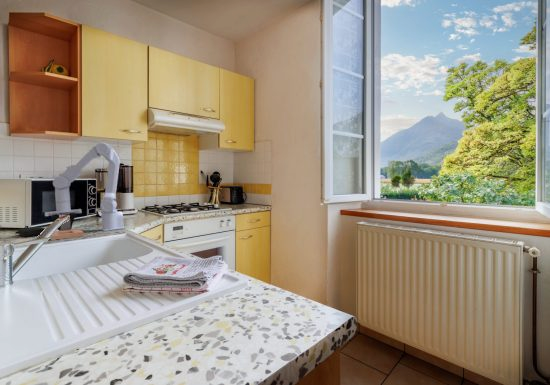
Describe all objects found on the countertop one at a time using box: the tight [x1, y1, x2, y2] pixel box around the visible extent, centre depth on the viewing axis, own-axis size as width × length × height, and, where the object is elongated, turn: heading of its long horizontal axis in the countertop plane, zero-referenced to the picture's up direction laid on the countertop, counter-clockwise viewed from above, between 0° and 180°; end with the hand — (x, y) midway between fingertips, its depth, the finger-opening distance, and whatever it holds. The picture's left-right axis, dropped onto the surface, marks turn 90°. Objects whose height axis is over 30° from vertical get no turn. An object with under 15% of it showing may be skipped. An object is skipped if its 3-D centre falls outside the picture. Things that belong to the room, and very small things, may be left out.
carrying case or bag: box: [15, 226, 46, 238], centre depth 143 cm, size 11×3×15 cm
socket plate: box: [51, 228, 85, 240], centre depth 135 cm, size 12×13×2 cm
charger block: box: [58, 220, 72, 231], centre depth 145 cm, size 4×5×7 cm
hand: (64, 229), depth 145 cm, fingers closed on charger block, 4 cm apart
